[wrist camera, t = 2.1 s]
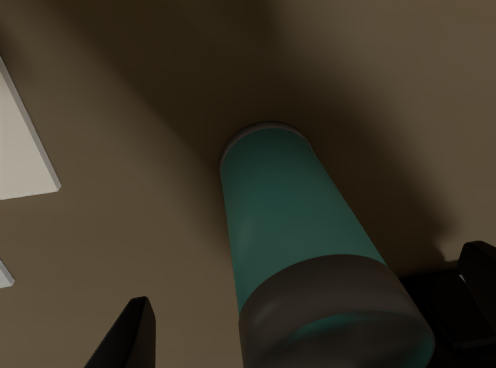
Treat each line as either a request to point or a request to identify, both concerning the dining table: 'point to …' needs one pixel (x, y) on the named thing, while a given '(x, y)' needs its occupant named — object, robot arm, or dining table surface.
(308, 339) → the canister
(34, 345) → the dining table surface
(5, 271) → the card
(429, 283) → the robot arm
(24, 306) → the dining table surface
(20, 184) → the paper
